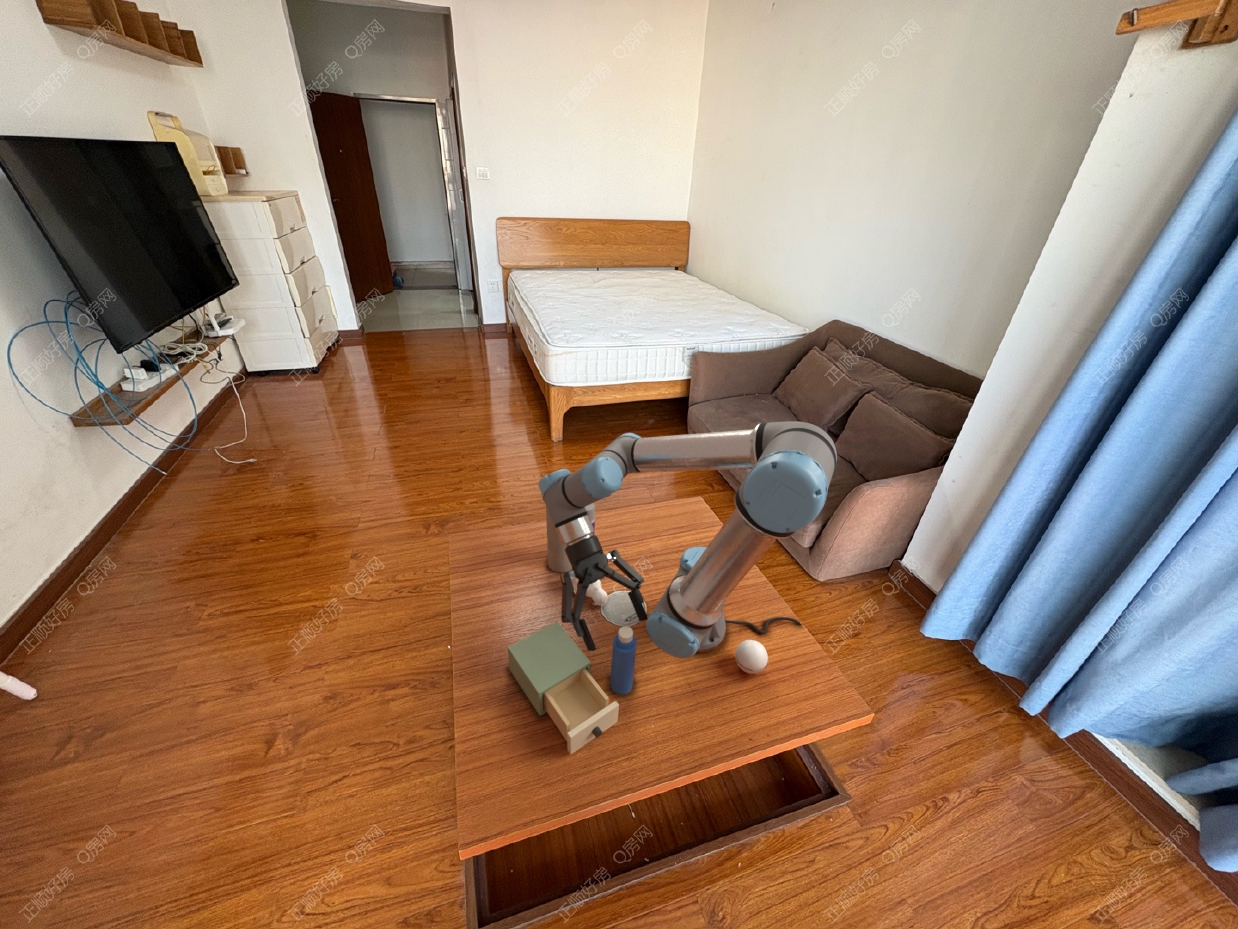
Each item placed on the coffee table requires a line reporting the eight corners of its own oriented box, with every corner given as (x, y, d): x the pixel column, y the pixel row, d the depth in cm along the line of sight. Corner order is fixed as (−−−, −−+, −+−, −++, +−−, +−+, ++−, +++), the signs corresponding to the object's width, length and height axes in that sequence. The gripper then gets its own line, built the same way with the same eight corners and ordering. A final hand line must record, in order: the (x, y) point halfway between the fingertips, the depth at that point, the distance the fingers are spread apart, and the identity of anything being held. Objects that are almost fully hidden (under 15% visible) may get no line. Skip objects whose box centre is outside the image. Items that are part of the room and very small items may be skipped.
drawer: (621, 726, 102) (622, 709, 99) (574, 760, 96) (574, 743, 93) (583, 677, 111) (583, 660, 108) (538, 705, 105) (537, 688, 102)
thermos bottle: (579, 556, 146) (580, 474, 131) (571, 574, 139) (571, 491, 125) (552, 551, 147) (550, 470, 133) (543, 569, 140) (540, 486, 126)
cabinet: (590, 685, 111) (591, 662, 107) (540, 716, 104) (538, 693, 100) (557, 643, 120) (557, 621, 116) (509, 669, 113) (507, 647, 109)
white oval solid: (725, 661, 118) (730, 640, 114) (749, 649, 121) (755, 628, 117) (754, 696, 110) (761, 674, 107) (779, 682, 114) (786, 661, 110)
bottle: (635, 678, 113) (640, 626, 104) (628, 697, 108) (634, 645, 100) (614, 671, 114) (617, 619, 105) (606, 690, 110) (610, 638, 101)
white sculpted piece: (586, 554, 134) (616, 582, 127) (584, 576, 139) (613, 604, 132) (567, 564, 130) (597, 594, 123) (566, 586, 135) (594, 616, 128)
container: (597, 545, 150) (598, 504, 143) (588, 554, 147) (589, 512, 139) (584, 539, 152) (585, 499, 145) (575, 547, 149) (575, 506, 141)
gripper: (617, 523, 117) (654, 609, 115) (522, 565, 104) (561, 663, 102) (633, 516, 111) (672, 607, 109) (533, 560, 97) (576, 665, 95)
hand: (619, 634), depth 105 cm, fingers open, 13 cm apart
